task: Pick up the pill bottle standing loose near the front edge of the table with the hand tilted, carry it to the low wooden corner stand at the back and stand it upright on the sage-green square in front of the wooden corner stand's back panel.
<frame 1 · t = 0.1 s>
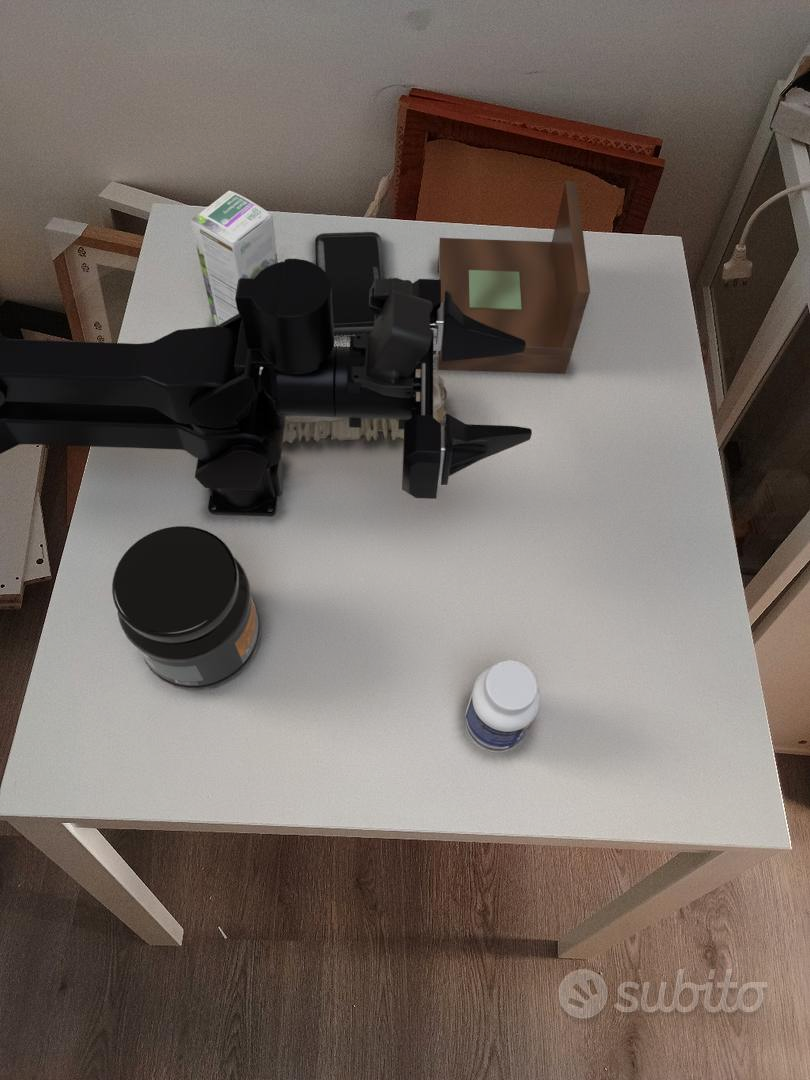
hand: (528, 388, 68), 17 cm above the table, tool horizontal, fingers open, 9 cm apart
shoe brush: (332, 418, 86), on the table
supplement container: (203, 638, 74), on the table
phone: (351, 286, 96), on the table
wooden corner stand: (499, 317, 94), on the table
syrup box: (250, 322, 93), on the table
pill bottle: (495, 723, 71), on the table
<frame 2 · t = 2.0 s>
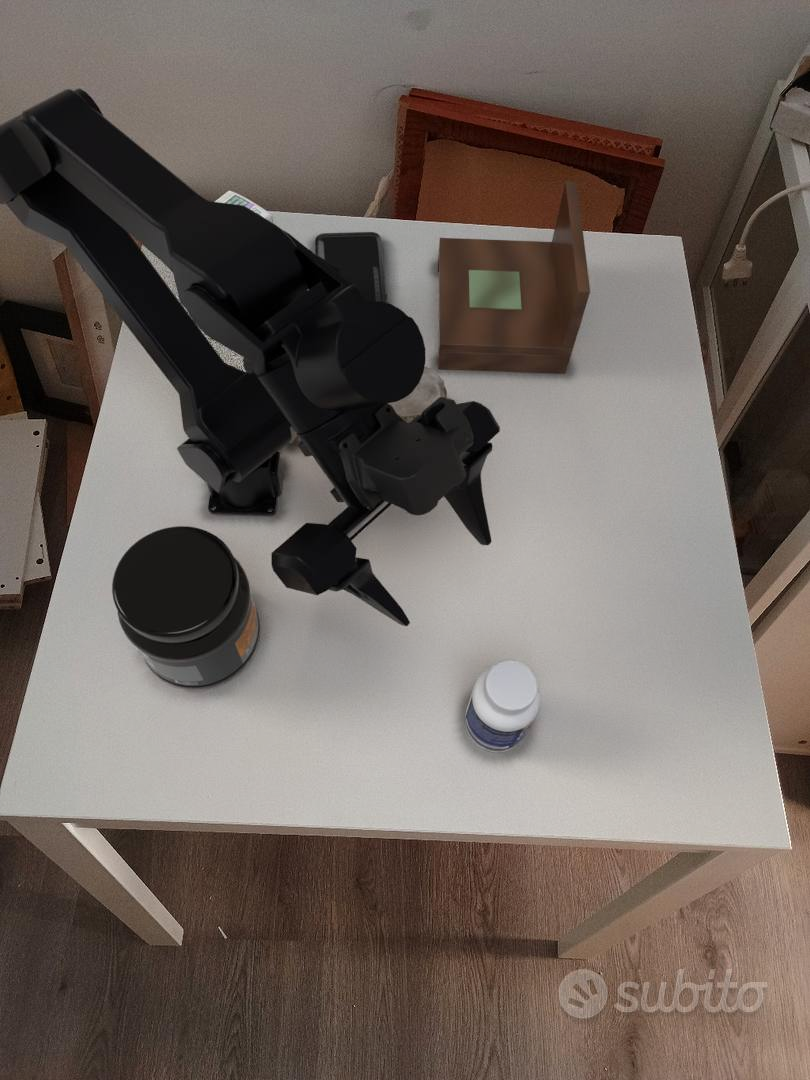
hand: (447, 583, 62), 14 cm above the table, tool tilted 45°, fingers open, 9 cm apart
nothing on the table moved.
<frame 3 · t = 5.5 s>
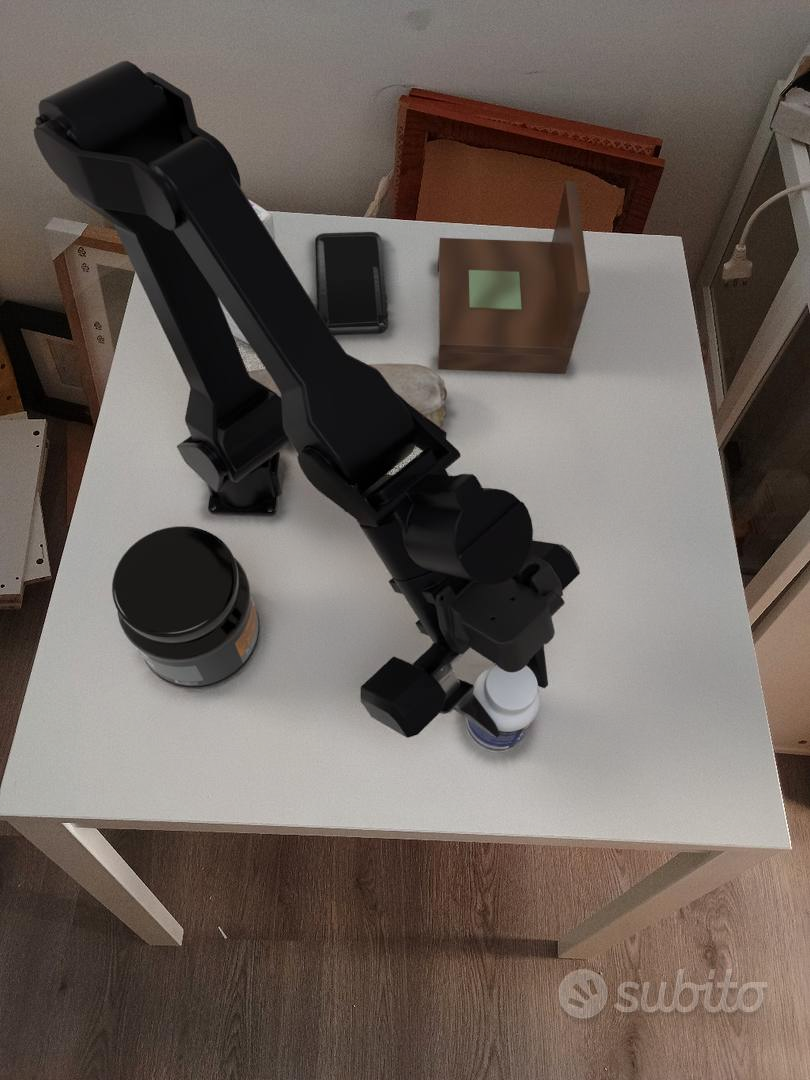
hand: (519, 710, 65), 7 cm above the table, tool tilted 45°, fingers closed on pill bottle, 5 cm apart
pill bottle: (495, 723, 71), on the table, touching gripper
everything else where it was.
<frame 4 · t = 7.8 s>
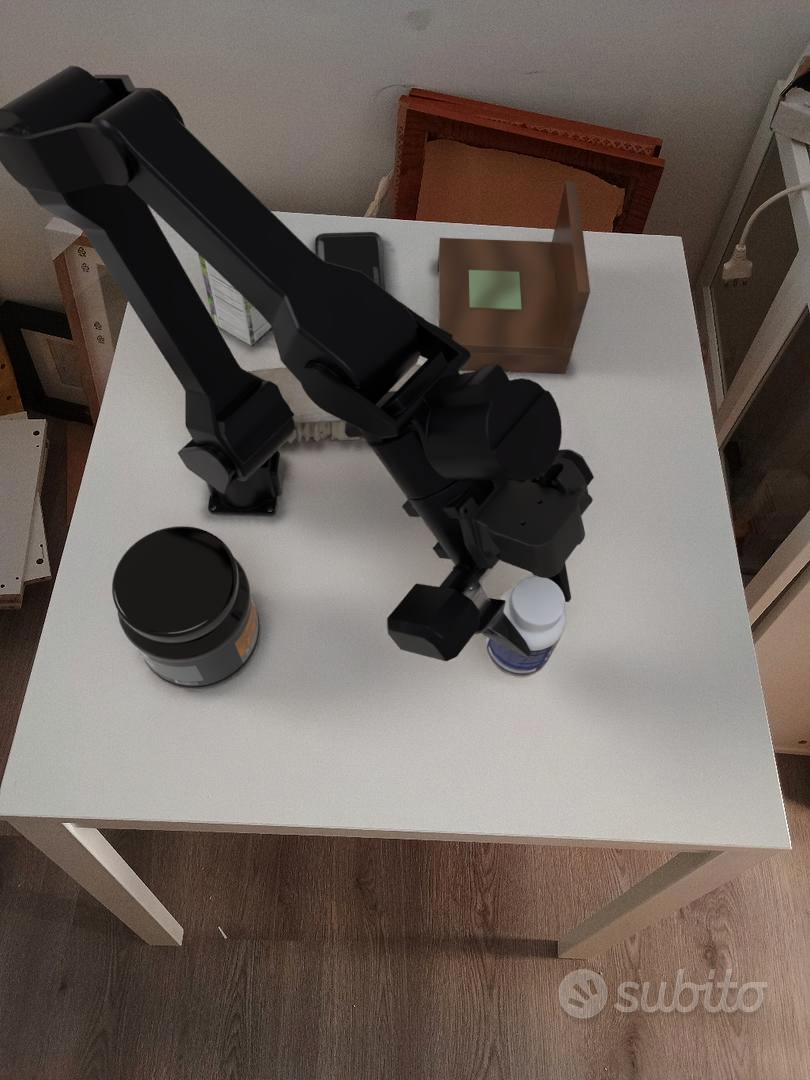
hand: (546, 627, 63), 12 cm above the table, tool tilted 45°, fingers closed on pill bottle, 5 cm apart
pill bottle: (516, 649, 69), point 5 cm above the table, touching gripper
everything else where it was.
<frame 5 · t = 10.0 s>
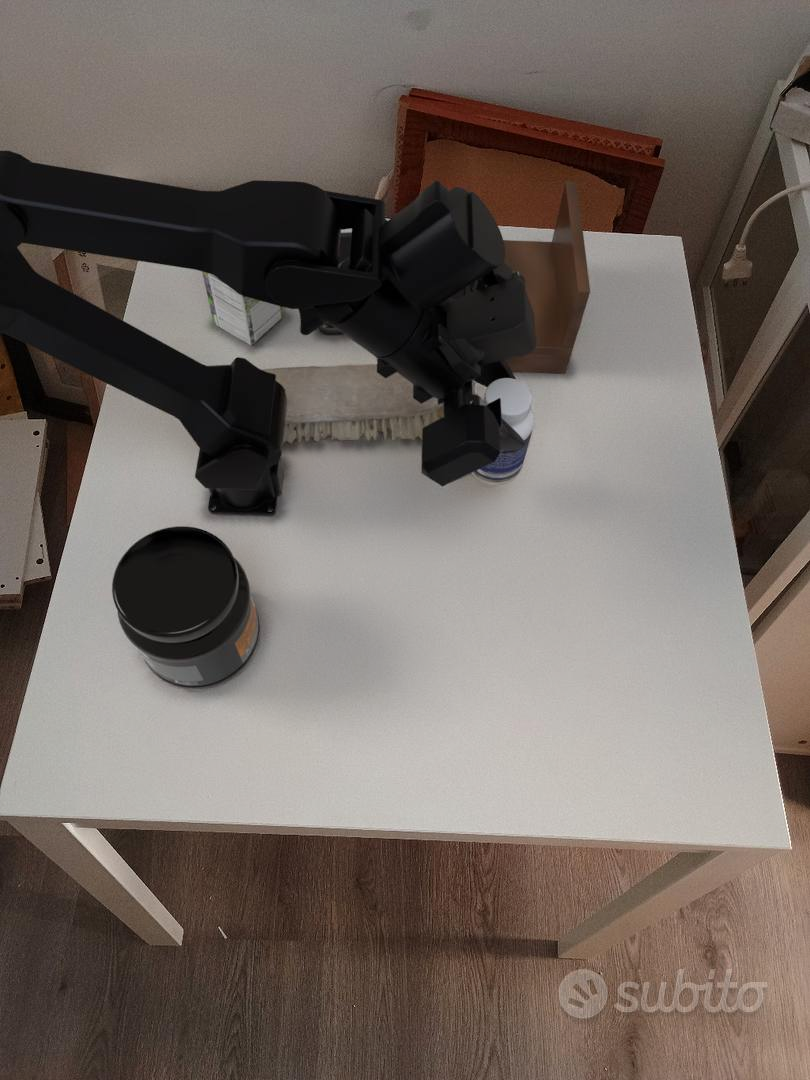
hand: (519, 420, 71), 12 cm above the table, tool tilted 45°, fingers closed on pill bottle, 5 cm apart
pill bottle: (493, 463, 77), point 6 cm above the table, touching gripper
everything else where it was.
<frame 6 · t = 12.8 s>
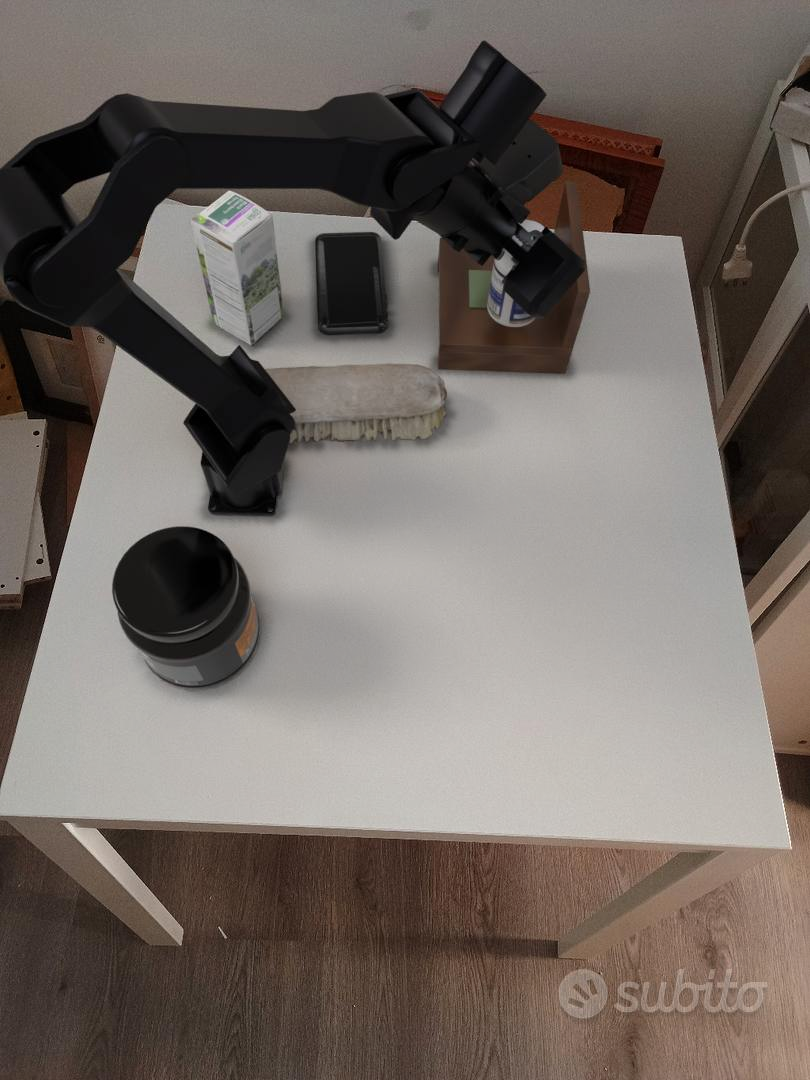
hand: (532, 254, 81), 13 cm above the table, tool tilted 45°, fingers closed on pill bottle, 5 cm apart
pill bottle: (511, 311, 86), point 6 cm above the table, touching gripper
everything else where it was.
when the fingers open (11 cm above the table, at t = 14.9 s): pill bottle stays where it is, resting on wooden corner stand.
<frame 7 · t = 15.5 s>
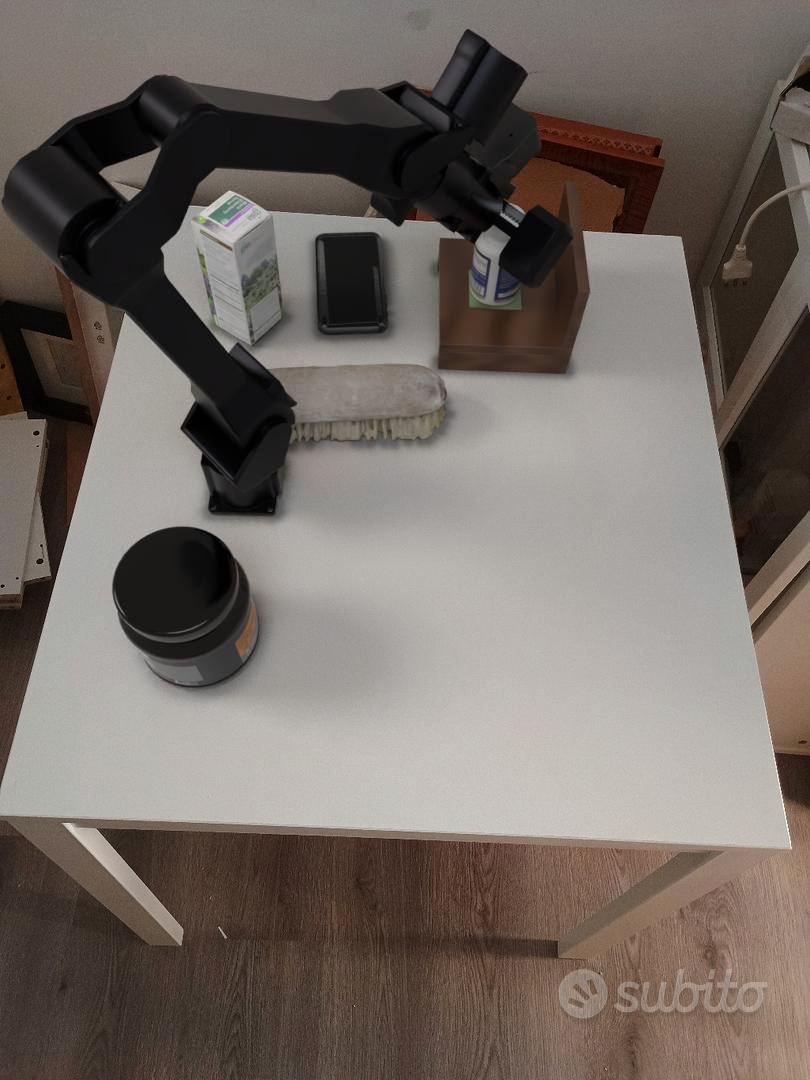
hand: (513, 229, 84), 11 cm above the table, tool tilted 45°, fingers open, 9 cm apart
pill bottle: (493, 291, 90), point 4 cm above the table, touching wooden corner stand
everything else where it was.
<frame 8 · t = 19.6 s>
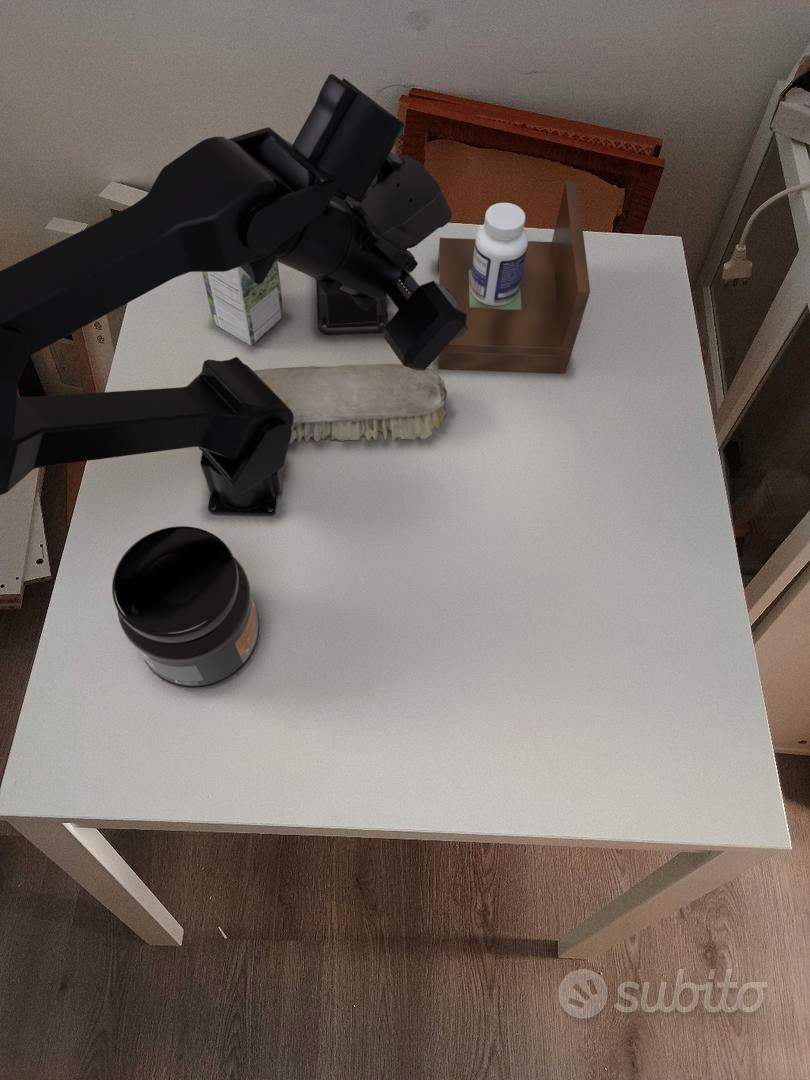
hand: (438, 298, 76), 14 cm above the table, tool tilted 45°, fingers open, 9 cm apart
nothing on the table moved.
at the end: pill bottle 0.2 cm from the target spot on the wooden corner stand, point 4.0 cm above the wooden corner stand's base; pill bottle tilted 0°; the gripper is holding nothing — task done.
